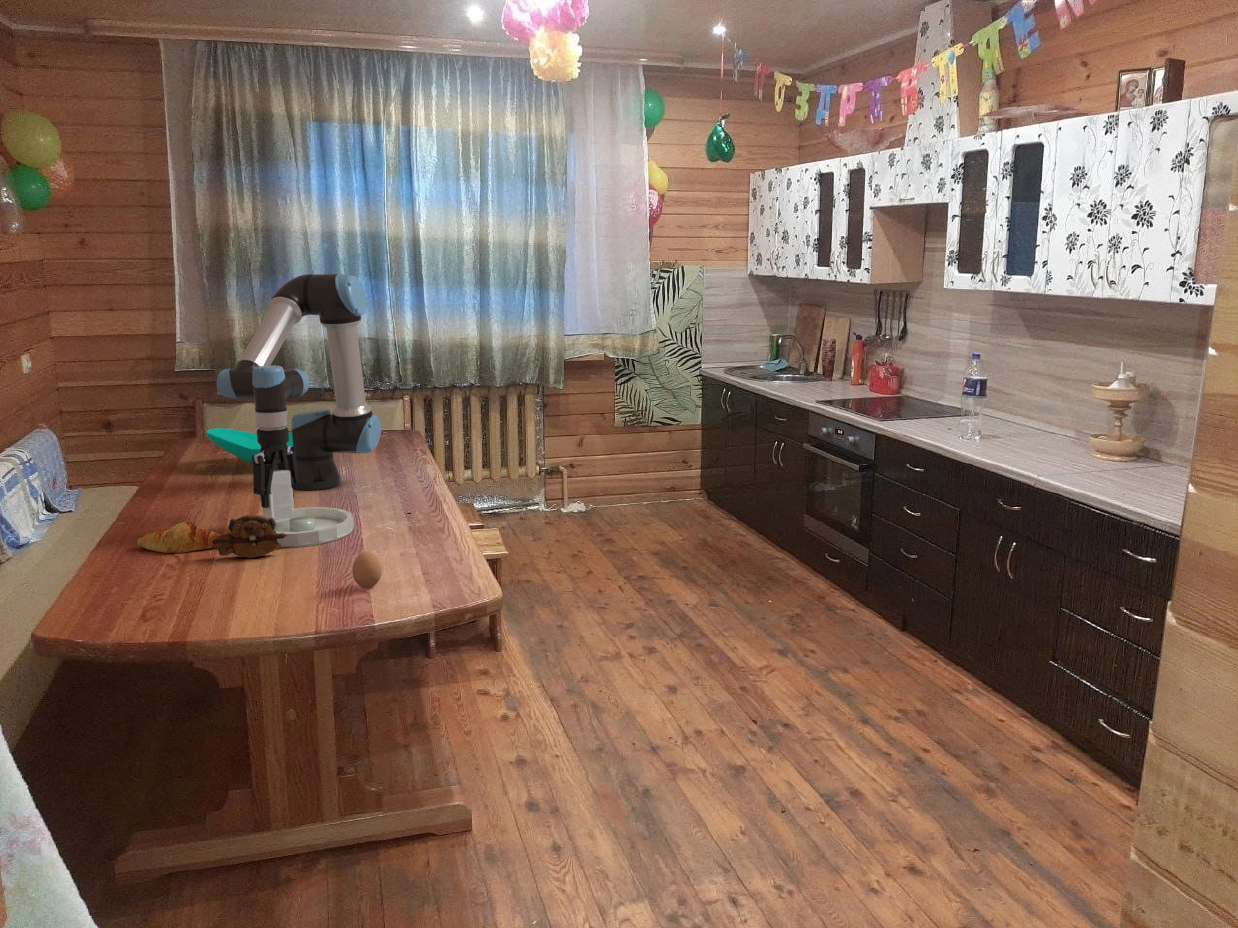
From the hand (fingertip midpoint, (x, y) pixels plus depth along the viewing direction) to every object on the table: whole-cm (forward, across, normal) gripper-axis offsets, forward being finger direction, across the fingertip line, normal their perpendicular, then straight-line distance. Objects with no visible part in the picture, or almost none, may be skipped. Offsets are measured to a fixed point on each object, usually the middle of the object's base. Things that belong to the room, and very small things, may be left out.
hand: (279, 515), depth 240 cm
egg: (+4, +28, +47) cm, 55 cm away
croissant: (+4, +20, -12) cm, 24 cm away
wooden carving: (+4, +20, +9) cm, 23 cm away
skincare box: (+1, 0, 0) cm, 1 cm away
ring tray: (+4, 0, +7) cm, 8 cm away
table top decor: (+4, -62, -55) cm, 83 cm away
